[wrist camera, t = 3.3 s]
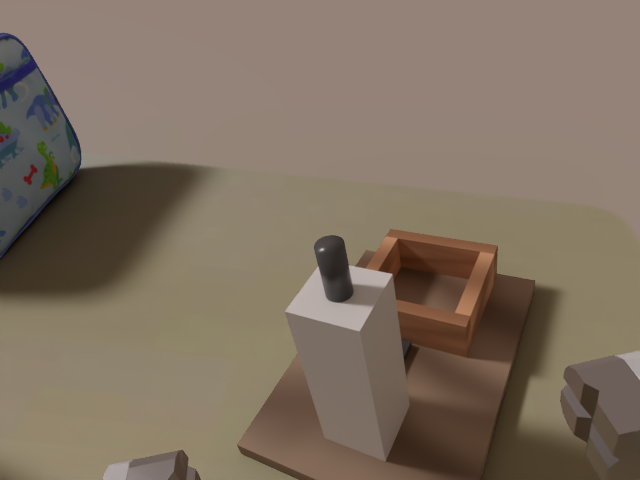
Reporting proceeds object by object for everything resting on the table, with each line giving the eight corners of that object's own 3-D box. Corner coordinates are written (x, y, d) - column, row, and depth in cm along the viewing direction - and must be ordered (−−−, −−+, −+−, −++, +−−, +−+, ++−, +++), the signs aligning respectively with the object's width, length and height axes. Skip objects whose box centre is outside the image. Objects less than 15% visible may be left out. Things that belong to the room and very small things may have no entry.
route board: (460, 551, 26) (458, 514, 23) (241, 453, 32) (222, 417, 30) (534, 290, 39) (538, 249, 36) (367, 258, 45) (361, 222, 43)
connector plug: (385, 461, 29) (349, 281, 21) (324, 438, 31) (269, 264, 23) (409, 405, 32) (386, 225, 23) (352, 386, 34) (312, 214, 25)
